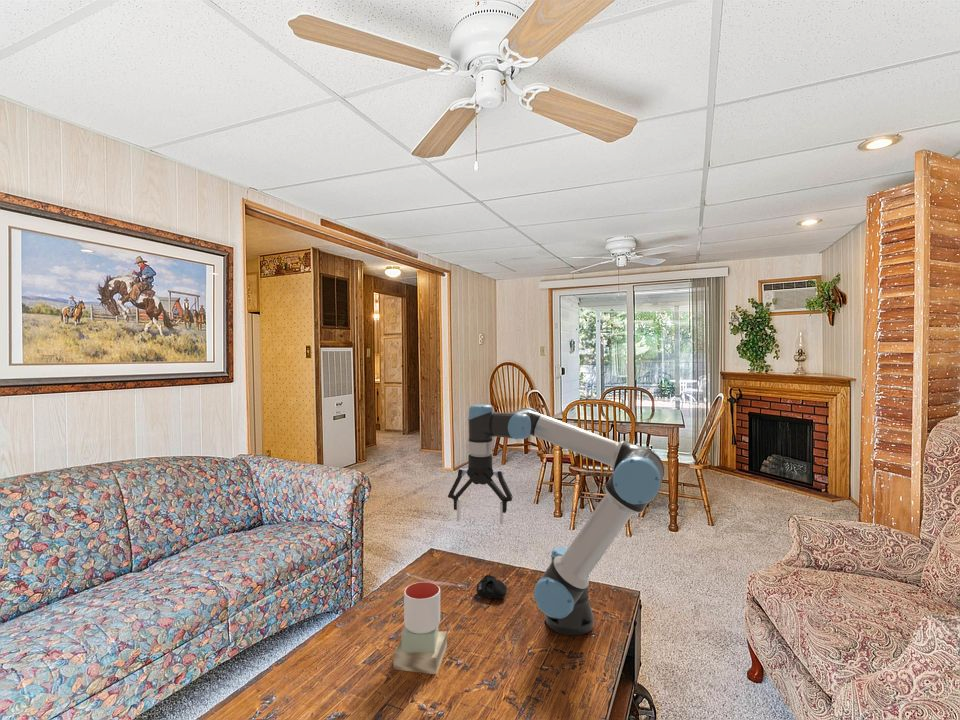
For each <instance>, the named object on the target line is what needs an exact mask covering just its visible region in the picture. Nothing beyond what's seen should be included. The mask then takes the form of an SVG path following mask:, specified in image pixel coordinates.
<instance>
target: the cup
mask: <svg viewBox="0 0 960 720" xmlns="http://www.w3.org/2000/svg"><path fill="white" fill-rule="evenodd" d="M403 600H404V601H403V609H404V610H403V612H404V613H403V615H404V618H403V619H404V621H403V623H404V625H405V627H406V628H407V629H408V630H409V631H411V632H413V633H417V634H424V633H429V632H431V631H433V630H435V629H436V628H437V627H438V628H439V625H440V624H441V587H440V586H439V585H438V584H436V583H434V582H430V581H420V582H415V583H414V582H413V583H412V584H410V585H407V586H406V588H405V589H404V592H403Z"/></svg>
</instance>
